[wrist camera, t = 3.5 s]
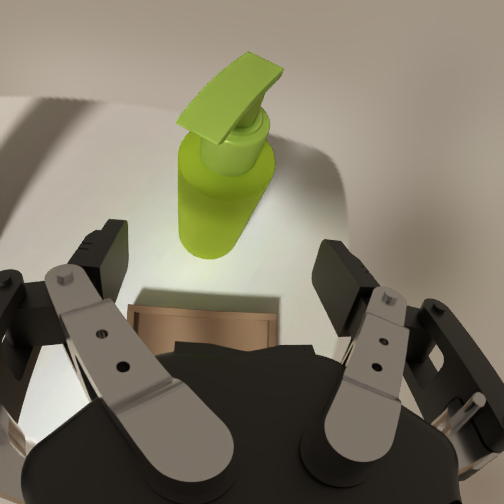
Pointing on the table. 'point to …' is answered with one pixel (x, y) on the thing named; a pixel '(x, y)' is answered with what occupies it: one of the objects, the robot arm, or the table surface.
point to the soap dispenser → (224, 156)
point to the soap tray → (201, 328)
